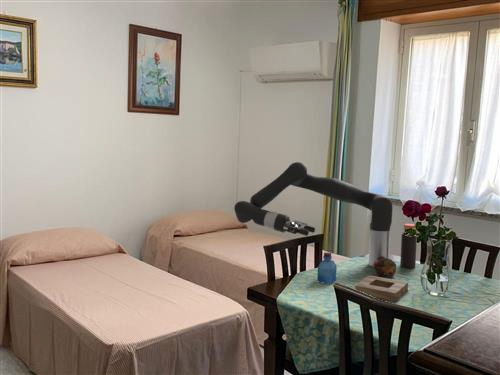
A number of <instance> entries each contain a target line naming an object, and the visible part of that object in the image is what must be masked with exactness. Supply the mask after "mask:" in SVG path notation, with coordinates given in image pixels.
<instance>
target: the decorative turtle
mask: <svg viewBox="0 0 500 375" xmlns="http://www.w3.org/2000/svg"><path fill="white" fill-rule="evenodd" d="M397 267H398V266H397V264H396V262H395V261H394V260H392V259H391V258H389V259H388V258H385V257H384V256H379V257H378V258H377V261H376V262H375V263H374V267H373V269H374V270H375V272H376V274H377V275H378V277H382V278H384V276H385V275H387V276H388V277H394V276H395V274H396V270H397Z"/></svg>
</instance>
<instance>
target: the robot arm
mask: <svg viewBox="0 0 500 375" xmlns="http://www.w3.org/2000/svg"><path fill="white" fill-rule="evenodd" d="M289 186H293V187H296V188H297V187H298V188H301V189H305V190H308V191H312V192H314V193H318V194H320V195H323V196H326V197H328V198H331V199H334V200H335V201H340V202H343V203H349V204H353V205H358V206H360V207H363V208H365V209H367V210H369V211H371V221H370V223H369V240H368V242H369V243H368V244H369V245H368V265H369V266H370V267H372V268H374V263H375V262H376V261H377V258H378V257H379V256H384V257H385V258H388V259H390V241H391V240H390V239H391V238H390V237H391V225H392V221H393V203H392V201H391V199H390V198H388V196H386V195H383V194H379V193H374V192H370V191H366V190H365V189H364V190H363V189H361V188H359V187H357V186H356V185H353V184H351V183H348V182H346V181H344V180H340V179H338V178H334V177H324V176H323V177H322V176H321V177H320V176H315V175H312V174H309V173H308V168H307V166H306V165H305V164H304V163H302V162H300V161H296V162H293V163H291V164H290V165H289V166H288V167H287V168H286V169H285V170H284V171H283V172H282V173H281V174H280V175H278V176H277V178H275V179H274V180H272V181H271V182H270V183H269V184H267V185H266V186H264V187H263V188H261V189H260V190H258V191H257V192H256V193H255V194H253V195H252V196H251V197H250V199H249V200H250V201H245V200H239V201H237V202H236V203H235V204H234V207H233V209H234V213H235V216H236V219H237V221H238V222H239V223H243V224H246V223H249V222H250V221H251V220H252V221H253V223H255V224H256V225H258V226H262V227H265V228H267V229H270V230H272V231H273V230H274V231H277V232H281V233H282V234H283V233H284V234H285V233H286V232H288V233H290V234H294V235H299V234H300V235H302V236H308V235H309V233H312V234H314V233H315V232H316V227H313V226H312V225H311V226H310V225H308V223H305V222H302V221H297V220H292V221H291V220H290V218H291V217H290V215H286V214H283V213H279V212H276V211H271V210H267V209H263V208H264V207H266V206H267V205H268V204H269V203H271V202H272V201H273V200H275V198H277V197H278V196H279V195H280V194H281V193H282V192H283V191H284V190H286V189H287V188H288V187H289Z"/></svg>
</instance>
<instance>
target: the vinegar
mask: <svg viewBox="0 0 500 375" xmlns="http://www.w3.org/2000/svg"><path fill="white" fill-rule="evenodd" d="M409 228H412V229H414V228H415V229H416V224H414V223H404V224H403V230H404V231H403V233H402V234H401V241H400V267H401V268H403V269H414V268H416V264H417V263H416V261H417V260H416V259H417V243H418V236H412V237H407V236H405V232H406V229H409Z"/></svg>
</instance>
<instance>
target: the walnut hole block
mask: <svg viewBox="0 0 500 375" xmlns="http://www.w3.org/2000/svg"><path fill="white" fill-rule="evenodd" d="M355 289H356V290H358V291H361V292H364V293H366V294H368V295H371V296H373V297H376V298H375V299H377V298H379V300H382V301H383V300H384V301H387V302H393V303H396V302H398V301H399V300H400V298H402V297H403V296H404V295H405V294H406V293H407V292H408V291H409V281H404V280H397V279H393V278H386V277H380V276H375V275H368V276H367V277H365V278H364V279H362V280H361V281H359V282H357V283H356V284H355V286H354V290H355Z"/></svg>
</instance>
